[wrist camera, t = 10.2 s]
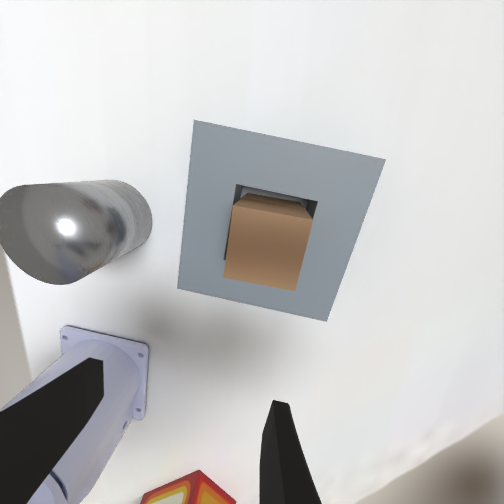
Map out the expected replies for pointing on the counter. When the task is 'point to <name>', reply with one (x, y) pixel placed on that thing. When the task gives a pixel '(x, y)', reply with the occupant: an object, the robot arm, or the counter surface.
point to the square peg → (267, 241)
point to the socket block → (280, 181)
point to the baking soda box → (189, 492)
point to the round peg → (71, 227)
